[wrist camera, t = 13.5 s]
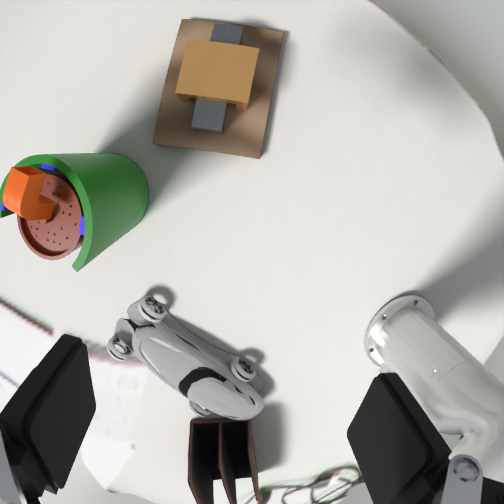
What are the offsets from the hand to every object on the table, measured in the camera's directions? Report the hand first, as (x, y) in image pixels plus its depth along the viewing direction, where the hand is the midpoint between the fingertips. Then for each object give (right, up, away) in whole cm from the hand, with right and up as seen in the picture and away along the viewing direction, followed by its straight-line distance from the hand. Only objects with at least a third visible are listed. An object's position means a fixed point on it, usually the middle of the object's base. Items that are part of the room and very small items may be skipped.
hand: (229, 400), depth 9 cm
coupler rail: (-3, +23, +21) cm, 31 cm away
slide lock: (-3, +23, +21) cm, 31 cm away
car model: (-8, -11, +33) cm, 36 cm away
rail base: (-3, +24, +22) cm, 33 cm away
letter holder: (-4, -32, +39) cm, 51 cm away
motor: (-16, +12, +25) cm, 32 cm away
